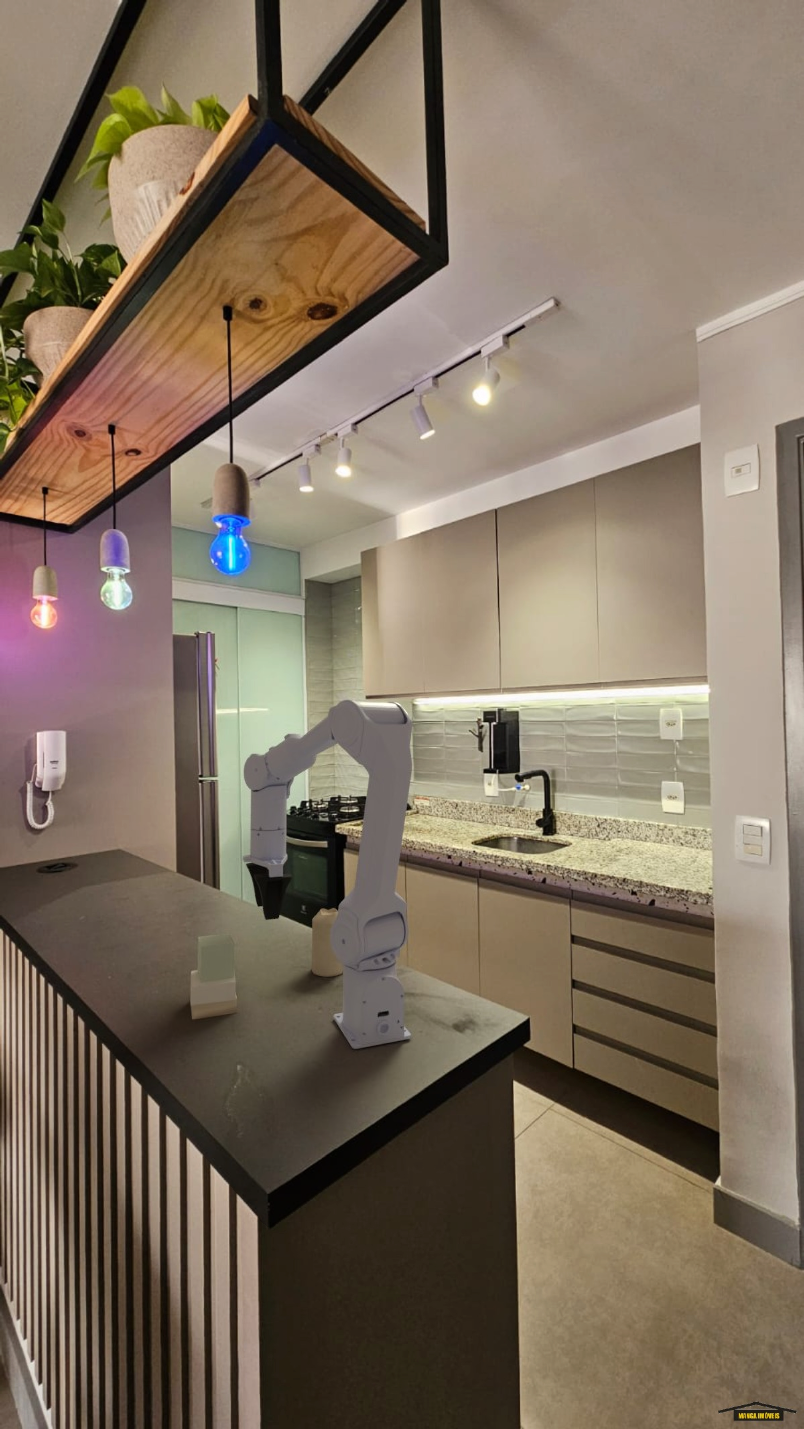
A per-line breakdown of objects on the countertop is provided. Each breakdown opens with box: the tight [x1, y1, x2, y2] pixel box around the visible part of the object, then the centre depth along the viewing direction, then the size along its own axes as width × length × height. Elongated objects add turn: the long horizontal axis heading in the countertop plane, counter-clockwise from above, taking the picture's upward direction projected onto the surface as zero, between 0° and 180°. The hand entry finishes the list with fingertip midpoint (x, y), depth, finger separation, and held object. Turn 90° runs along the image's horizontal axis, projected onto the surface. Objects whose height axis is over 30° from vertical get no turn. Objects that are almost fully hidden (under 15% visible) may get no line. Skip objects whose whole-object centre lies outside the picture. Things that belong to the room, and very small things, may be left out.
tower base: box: [189, 986, 238, 1020], centre depth 91 cm, size 6×6×2 cm
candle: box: [311, 907, 343, 978], centre depth 105 cm, size 6×6×10 cm
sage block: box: [197, 932, 235, 983], centre depth 92 cm, size 4×4×5 cm
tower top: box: [190, 969, 237, 1006], centre depth 91 cm, size 6×6×2 cm
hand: (267, 912), depth 103 cm, fingers open, 7 cm apart
